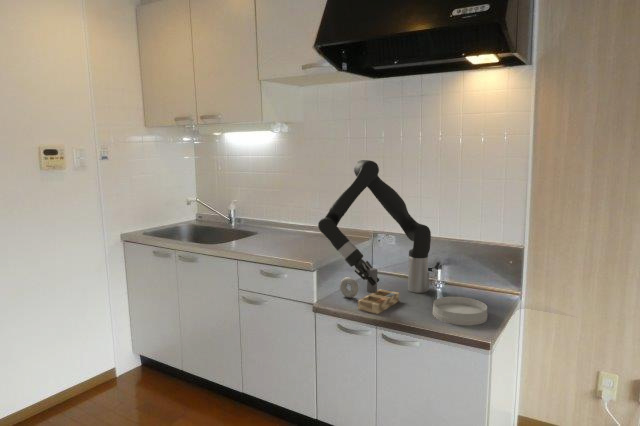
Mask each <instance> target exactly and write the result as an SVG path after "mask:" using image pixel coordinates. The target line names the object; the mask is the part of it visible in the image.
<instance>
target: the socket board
mask: <svg viewBox="0 0 640 426" xmlns="http://www.w3.org/2000/svg"><path fill="white" fill-rule="evenodd" d="M398 302H400V292H396V291H391V290H385V289H381V288H380V289H377V292H376V293H369V294H368V295H365V296H364V297H362V298H360V299H358V300H357V310H359V311H363V312H369V313H373V314H377V315H379V314H381V313H382V312H384V311H385V310H387V309H389V308H390V307H392V306H394V305H395V304H397V303H398Z"/></svg>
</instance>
